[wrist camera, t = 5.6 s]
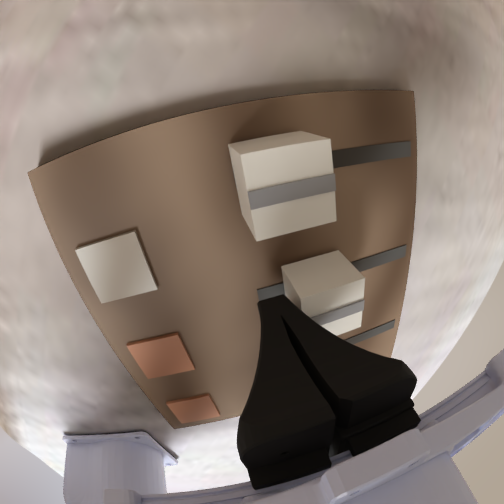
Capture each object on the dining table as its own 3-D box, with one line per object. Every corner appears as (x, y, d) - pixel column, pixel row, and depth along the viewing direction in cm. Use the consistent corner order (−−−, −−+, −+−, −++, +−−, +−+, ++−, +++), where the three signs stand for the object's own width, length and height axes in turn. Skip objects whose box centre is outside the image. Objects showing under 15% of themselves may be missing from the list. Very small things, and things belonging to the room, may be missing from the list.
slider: (242, 214, 12) (257, 242, 10) (227, 144, 11) (240, 155, 8) (309, 198, 13) (337, 222, 10) (301, 130, 11) (331, 139, 9)
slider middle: (287, 312, 15) (305, 348, 13) (281, 266, 14) (301, 300, 12) (338, 296, 16) (361, 328, 13) (338, 249, 14) (366, 279, 12)
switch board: (173, 418, 20) (174, 431, 19) (37, 167, 10) (25, 173, 9) (383, 354, 22) (390, 364, 21) (401, 90, 12) (416, 91, 11)
